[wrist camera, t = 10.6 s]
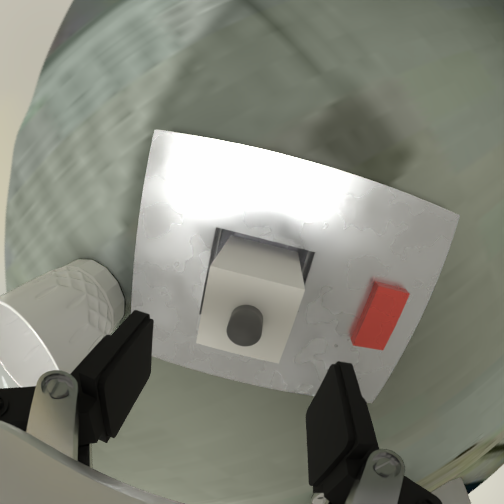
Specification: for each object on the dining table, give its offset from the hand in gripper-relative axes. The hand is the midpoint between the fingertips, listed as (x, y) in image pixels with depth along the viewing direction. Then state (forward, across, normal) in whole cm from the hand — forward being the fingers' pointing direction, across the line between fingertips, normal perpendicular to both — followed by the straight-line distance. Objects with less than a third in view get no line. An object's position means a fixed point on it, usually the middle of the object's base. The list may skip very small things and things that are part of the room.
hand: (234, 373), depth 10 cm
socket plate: (+11, -2, 0) cm, 11 cm away
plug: (+10, 0, 0) cm, 10 cm away
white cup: (+11, +13, +6) cm, 18 cm away
